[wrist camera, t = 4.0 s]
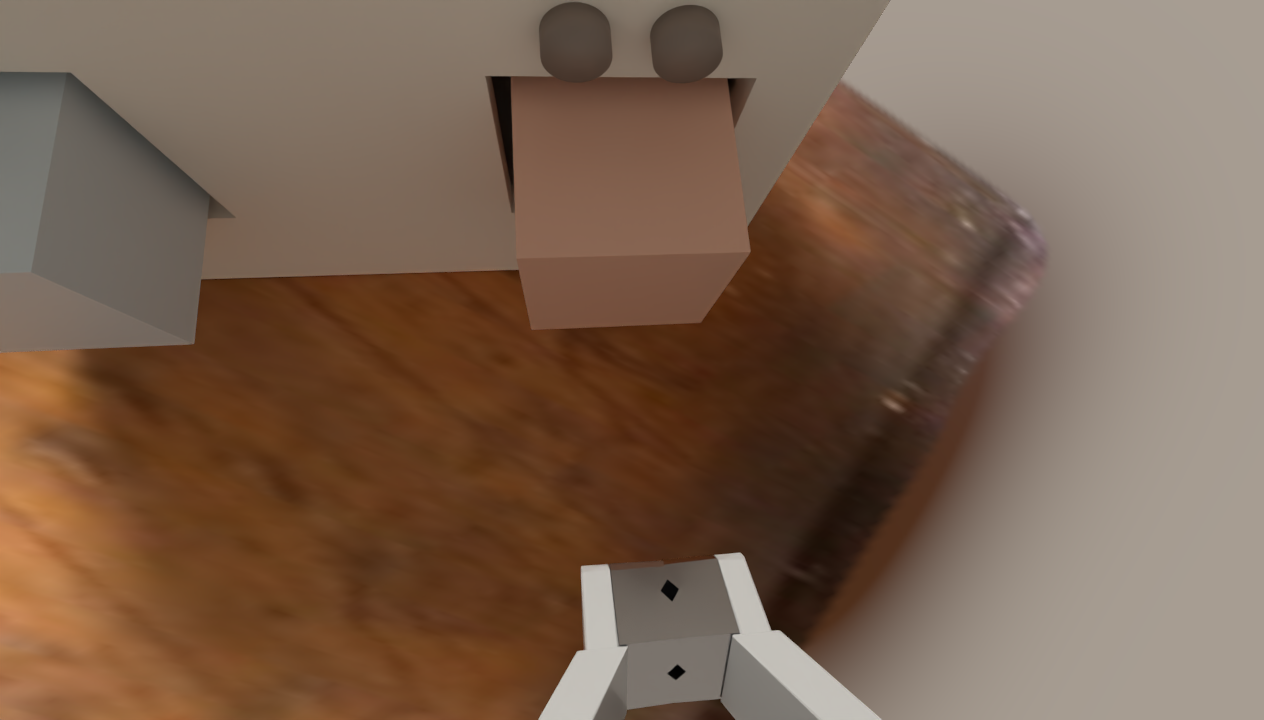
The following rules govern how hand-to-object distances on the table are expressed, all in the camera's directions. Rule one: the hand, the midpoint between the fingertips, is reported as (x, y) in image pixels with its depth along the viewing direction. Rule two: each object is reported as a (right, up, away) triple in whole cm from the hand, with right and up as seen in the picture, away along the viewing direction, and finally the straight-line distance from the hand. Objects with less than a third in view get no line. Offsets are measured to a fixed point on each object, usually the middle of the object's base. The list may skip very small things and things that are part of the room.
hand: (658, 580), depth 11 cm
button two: (-1, +9, +7) cm, 12 cm away
